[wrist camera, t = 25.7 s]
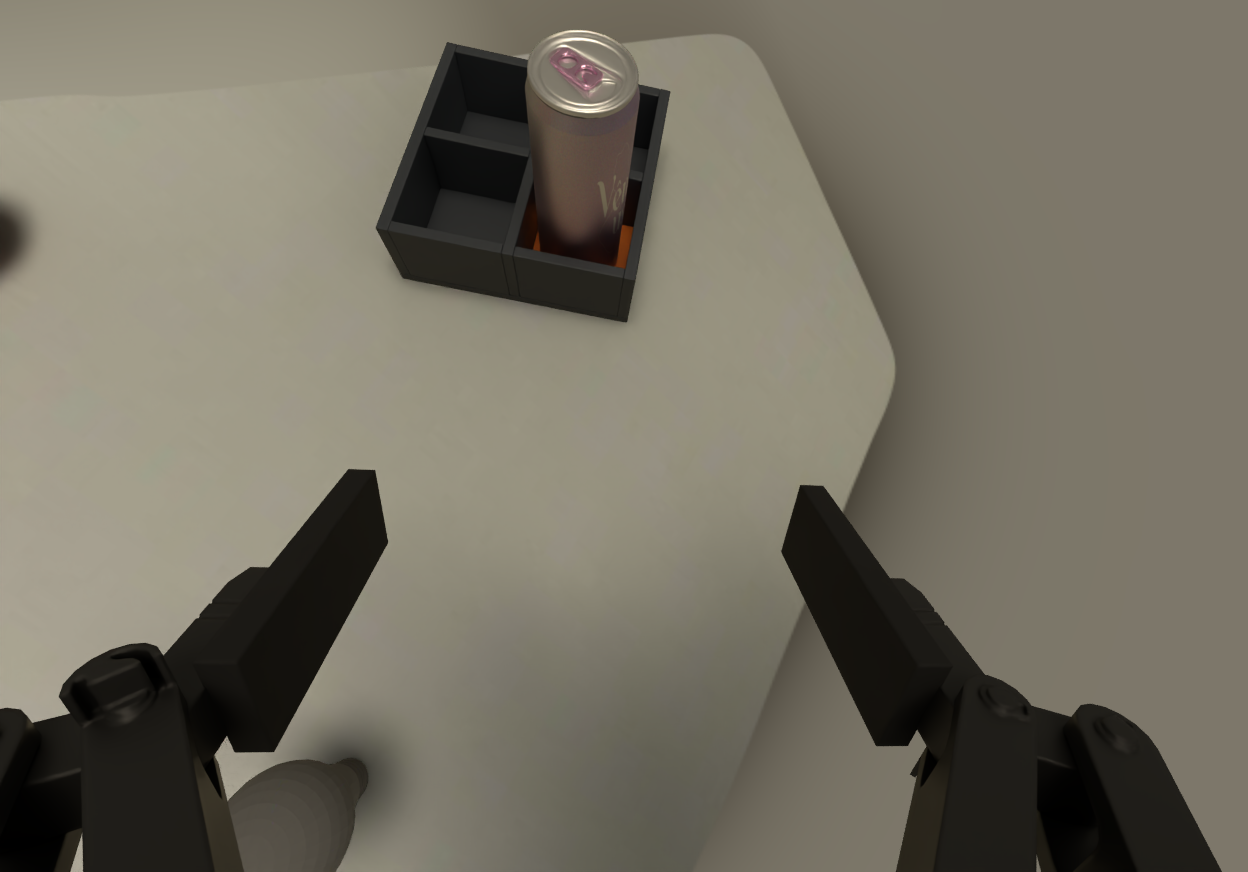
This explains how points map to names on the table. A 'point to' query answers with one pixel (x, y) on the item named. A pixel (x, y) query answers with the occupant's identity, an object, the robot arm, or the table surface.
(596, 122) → the beverage can
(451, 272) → the tray
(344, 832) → the light bulb
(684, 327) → the table surface
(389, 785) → the table surface
